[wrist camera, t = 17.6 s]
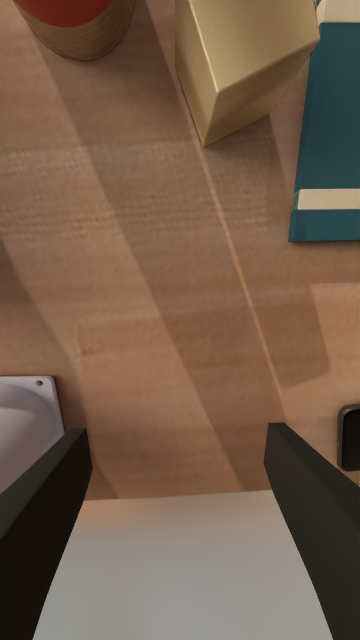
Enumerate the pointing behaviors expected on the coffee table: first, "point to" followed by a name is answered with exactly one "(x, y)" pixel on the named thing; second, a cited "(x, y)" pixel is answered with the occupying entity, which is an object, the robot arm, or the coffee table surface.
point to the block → (239, 58)
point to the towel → (330, 131)
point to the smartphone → (349, 438)
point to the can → (78, 25)
